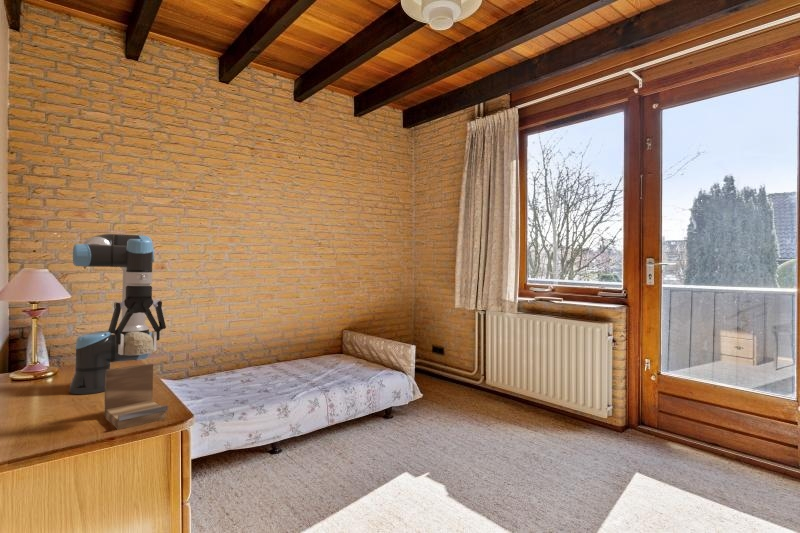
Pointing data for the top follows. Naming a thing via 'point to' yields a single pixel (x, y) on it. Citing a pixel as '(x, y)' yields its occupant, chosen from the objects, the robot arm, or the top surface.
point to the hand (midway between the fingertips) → (137, 352)
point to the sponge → (137, 343)
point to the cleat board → (131, 397)
